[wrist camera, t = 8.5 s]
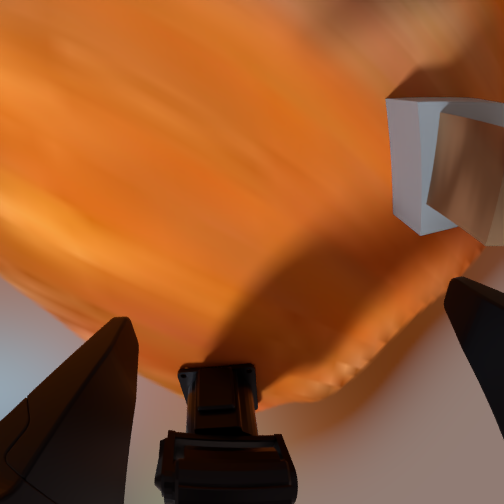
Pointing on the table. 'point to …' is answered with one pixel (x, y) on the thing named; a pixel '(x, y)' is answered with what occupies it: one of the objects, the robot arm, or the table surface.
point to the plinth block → (425, 152)
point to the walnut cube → (470, 177)
